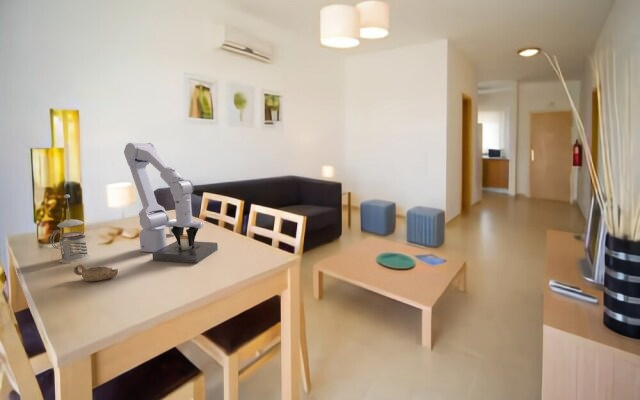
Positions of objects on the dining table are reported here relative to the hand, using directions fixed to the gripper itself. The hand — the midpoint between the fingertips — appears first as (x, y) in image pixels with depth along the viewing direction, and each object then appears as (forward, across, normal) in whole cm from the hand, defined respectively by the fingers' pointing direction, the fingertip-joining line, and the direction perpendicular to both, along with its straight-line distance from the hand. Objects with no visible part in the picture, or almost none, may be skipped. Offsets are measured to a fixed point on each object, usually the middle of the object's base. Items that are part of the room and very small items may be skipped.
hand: (186, 245), depth 125 cm
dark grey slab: (+4, 0, 0) cm, 4 cm away
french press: (+4, -40, -12) cm, 42 cm away
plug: (+2, 0, 0) cm, 2 cm away
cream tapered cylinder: (+4, -22, +26) cm, 34 cm away
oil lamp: (+4, -16, -26) cm, 31 cm away
